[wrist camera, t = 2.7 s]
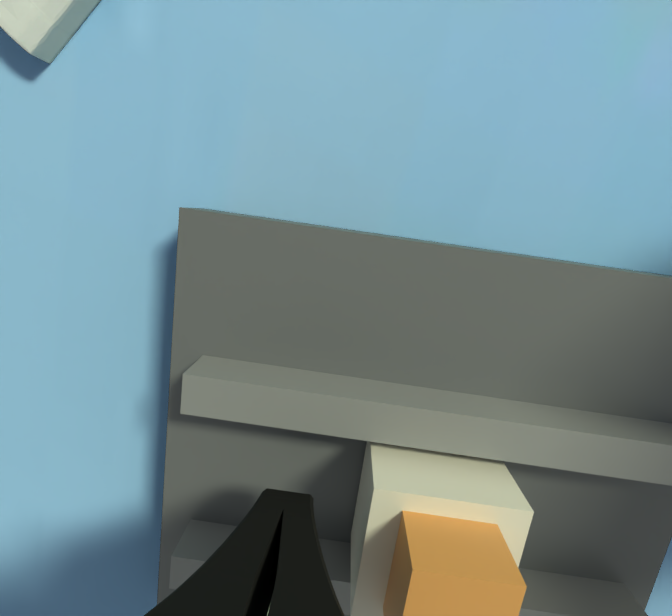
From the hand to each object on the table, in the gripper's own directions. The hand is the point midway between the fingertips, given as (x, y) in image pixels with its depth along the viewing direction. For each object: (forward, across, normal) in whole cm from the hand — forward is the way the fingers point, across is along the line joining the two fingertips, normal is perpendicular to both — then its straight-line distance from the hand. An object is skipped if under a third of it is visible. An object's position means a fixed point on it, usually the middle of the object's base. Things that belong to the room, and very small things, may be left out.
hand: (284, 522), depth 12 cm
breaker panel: (+4, -4, 0) cm, 6 cm away
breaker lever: (+2, -4, 0) cm, 5 cm away
